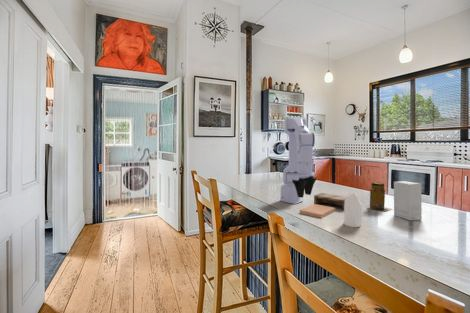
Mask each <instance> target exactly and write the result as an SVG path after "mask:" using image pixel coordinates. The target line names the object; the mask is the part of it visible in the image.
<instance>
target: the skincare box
mask: <svg viewBox="0 0 470 313" xmlns="http://www.w3.org/2000/svg"><path fill="white" fill-rule="evenodd" d="M422 208H423V207H422V183H419V182H415V181H414V182H412V181H407V180H403V181H401V180H400V181H398V180H397V181H393V215H394V216H395V217H398V218H402V219H405V220H408V221H421V220H422V219H423V217H422V214H423V213H422V210H423V209H422Z"/></svg>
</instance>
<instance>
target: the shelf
mask: <svg viewBox="0 0 470 313" xmlns="http://www.w3.org/2000/svg"><path fill="white" fill-rule="evenodd" d="M348 197H349V196H343V195H336V194H330V193H324V192H320V193H317V194H314V196H313V198H314V199H313V204H318V205H320V203H321V204H322V203H326V204H332V205H335V206H341V207H342V210H343V211H344V203H345V200H346V199H347V198H348Z"/></svg>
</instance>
